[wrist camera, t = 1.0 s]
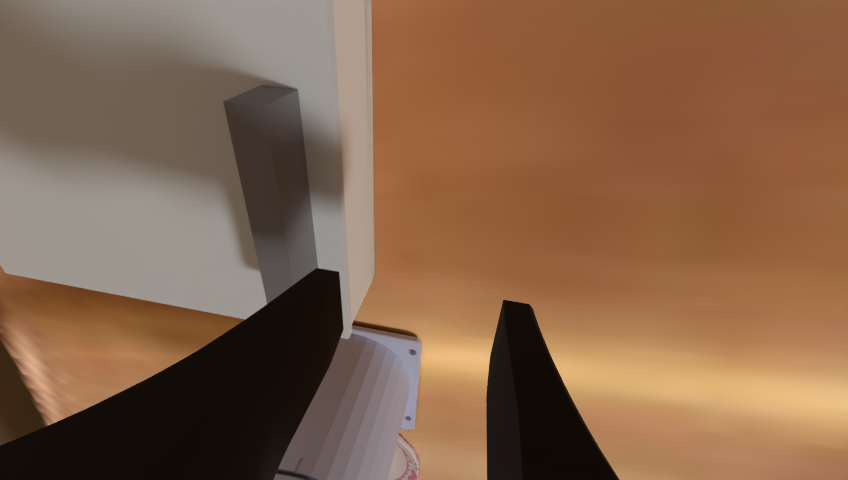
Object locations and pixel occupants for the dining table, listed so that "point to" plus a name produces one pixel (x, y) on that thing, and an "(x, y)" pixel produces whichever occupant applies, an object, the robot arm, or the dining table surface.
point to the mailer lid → (172, 149)
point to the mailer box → (356, 139)
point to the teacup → (404, 462)
